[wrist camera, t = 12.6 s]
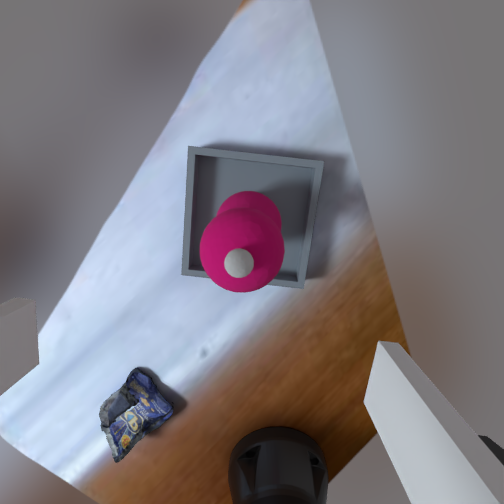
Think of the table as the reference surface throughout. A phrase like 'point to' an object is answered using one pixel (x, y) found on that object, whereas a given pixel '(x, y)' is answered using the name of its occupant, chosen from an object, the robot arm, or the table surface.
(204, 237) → the pepper mill
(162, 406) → the snack package
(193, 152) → the tray
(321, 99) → the table surface
